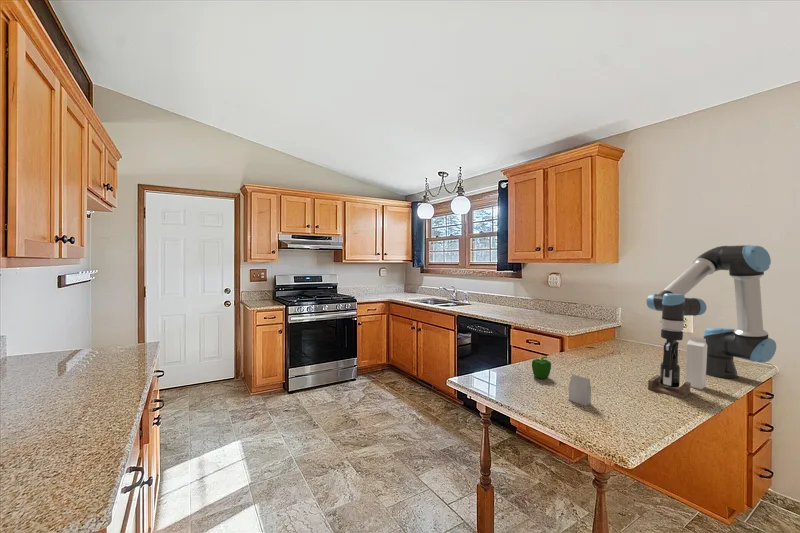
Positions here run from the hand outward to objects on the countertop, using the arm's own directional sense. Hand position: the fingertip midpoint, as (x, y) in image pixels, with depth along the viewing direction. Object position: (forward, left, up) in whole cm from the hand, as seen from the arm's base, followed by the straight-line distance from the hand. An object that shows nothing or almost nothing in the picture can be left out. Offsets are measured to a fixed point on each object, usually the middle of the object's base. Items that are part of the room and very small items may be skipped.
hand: (669, 382), depth 158 cm
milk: (-17, +6, -4) cm, 18 cm away
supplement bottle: (0, 0, -1) cm, 1 cm away
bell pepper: (+29, -43, -4) cm, 52 cm away
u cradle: (0, 0, -3) cm, 3 cm away
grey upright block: (+45, -19, -4) cm, 49 cm away
